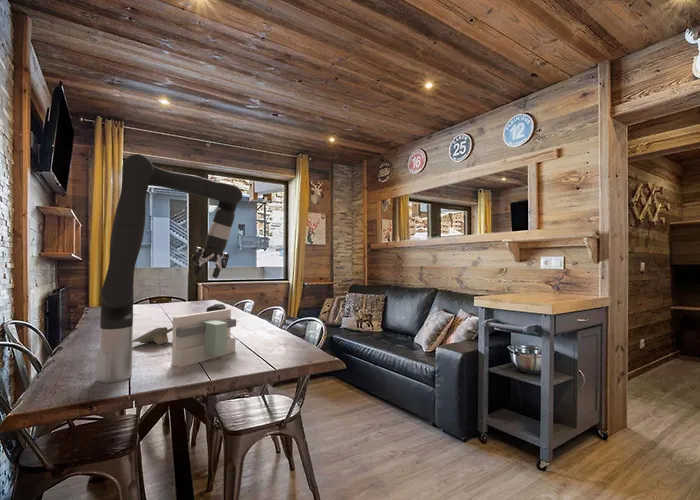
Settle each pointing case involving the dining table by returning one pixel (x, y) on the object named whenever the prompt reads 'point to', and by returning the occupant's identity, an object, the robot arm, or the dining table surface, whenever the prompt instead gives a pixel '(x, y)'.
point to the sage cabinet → (215, 337)
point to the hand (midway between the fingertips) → (205, 276)
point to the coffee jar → (216, 307)
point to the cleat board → (197, 337)
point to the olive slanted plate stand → (155, 336)
